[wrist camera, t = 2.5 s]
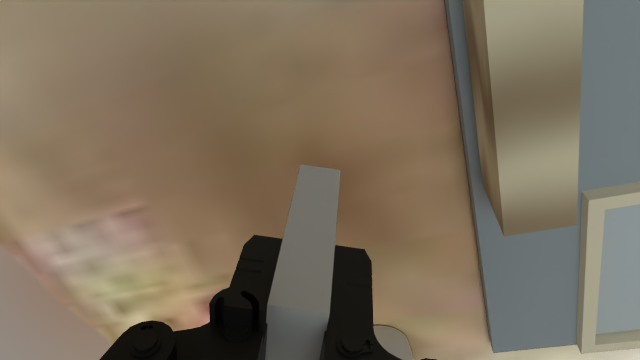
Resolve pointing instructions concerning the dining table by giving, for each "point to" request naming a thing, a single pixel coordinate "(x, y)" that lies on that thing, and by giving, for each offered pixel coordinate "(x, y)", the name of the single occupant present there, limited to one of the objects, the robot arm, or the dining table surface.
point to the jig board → (592, 205)
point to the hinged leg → (527, 108)
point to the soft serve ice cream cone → (393, 342)
